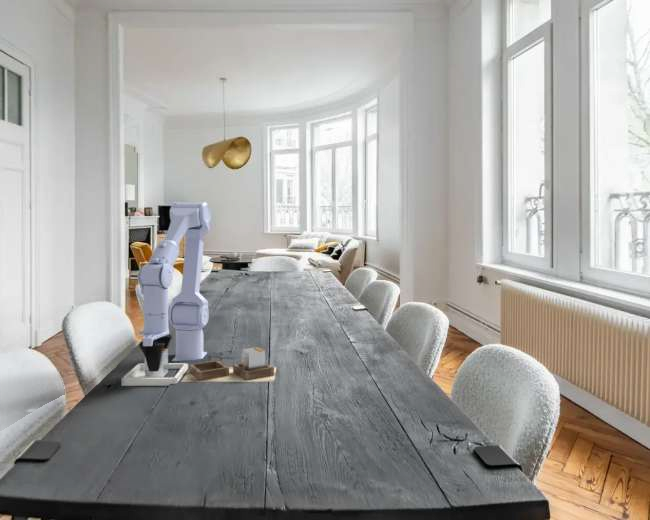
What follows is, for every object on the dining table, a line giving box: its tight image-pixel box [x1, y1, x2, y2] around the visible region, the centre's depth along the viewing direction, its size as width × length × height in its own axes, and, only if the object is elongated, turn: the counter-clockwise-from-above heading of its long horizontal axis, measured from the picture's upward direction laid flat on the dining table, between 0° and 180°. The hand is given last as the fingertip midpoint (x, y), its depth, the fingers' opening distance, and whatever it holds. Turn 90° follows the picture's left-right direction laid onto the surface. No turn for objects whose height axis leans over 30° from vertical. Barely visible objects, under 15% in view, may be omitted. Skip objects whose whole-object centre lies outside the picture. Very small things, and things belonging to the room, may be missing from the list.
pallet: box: [180, 359, 277, 383], centre depth 124 cm, size 12×22×3 cm, turn 93°
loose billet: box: [144, 347, 169, 378], centre depth 122 cm, size 4×4×6 cm
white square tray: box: [120, 362, 189, 387], centre depth 122 cm, size 13×13×2 cm
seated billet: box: [241, 346, 266, 371], centre depth 124 cm, size 4×4×6 cm
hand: (156, 367), depth 122 cm, fingers closed on loose billet, 4 cm apart
